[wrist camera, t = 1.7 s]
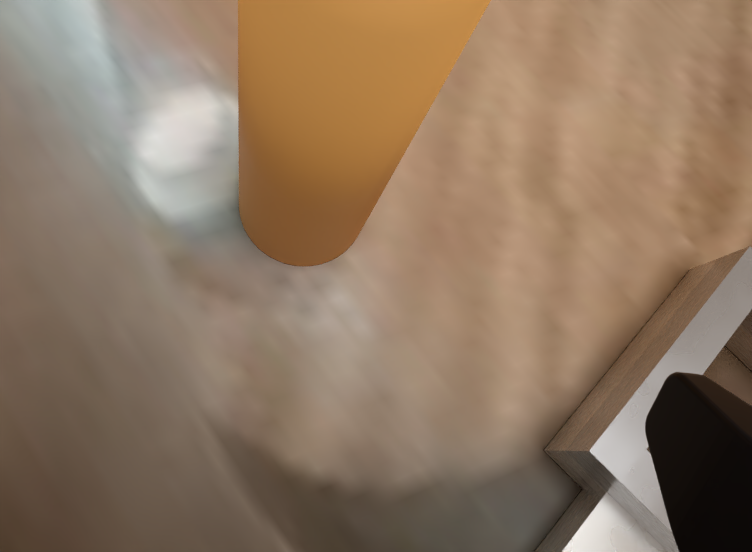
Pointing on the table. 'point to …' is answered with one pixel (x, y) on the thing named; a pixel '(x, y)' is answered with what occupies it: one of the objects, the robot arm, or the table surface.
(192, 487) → the table surface
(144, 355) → the table surface
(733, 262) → the grey peg socket block
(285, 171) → the pin
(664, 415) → the robot arm
